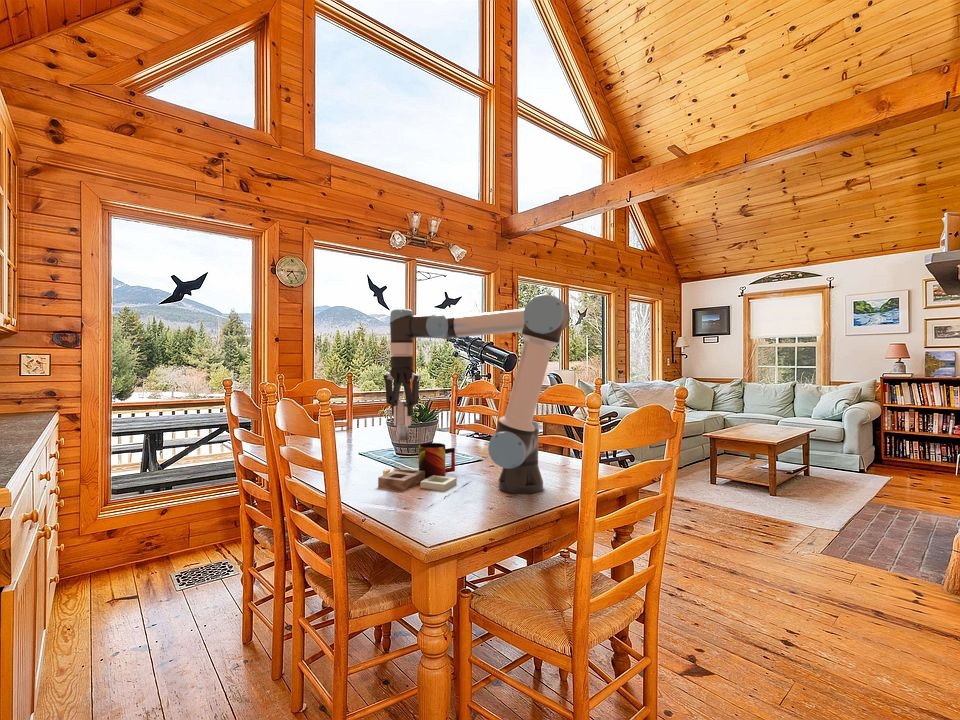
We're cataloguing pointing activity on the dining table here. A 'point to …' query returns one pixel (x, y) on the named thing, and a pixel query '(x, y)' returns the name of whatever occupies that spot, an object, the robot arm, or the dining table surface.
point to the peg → (401, 421)
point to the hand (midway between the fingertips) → (402, 425)
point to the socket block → (401, 479)
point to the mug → (435, 459)
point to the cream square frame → (438, 482)
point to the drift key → (386, 471)
